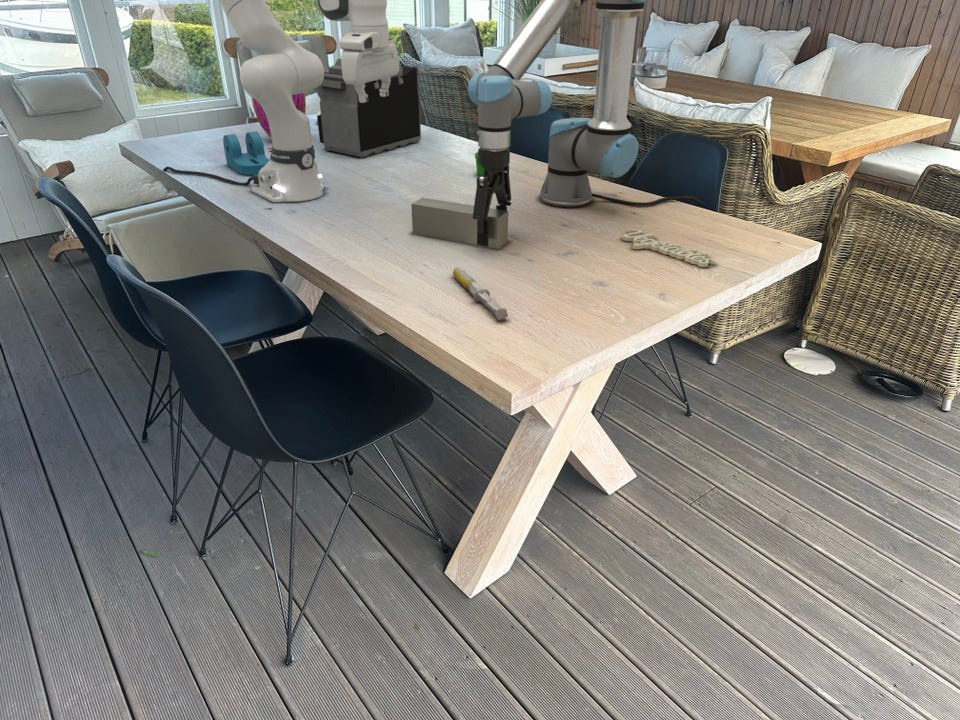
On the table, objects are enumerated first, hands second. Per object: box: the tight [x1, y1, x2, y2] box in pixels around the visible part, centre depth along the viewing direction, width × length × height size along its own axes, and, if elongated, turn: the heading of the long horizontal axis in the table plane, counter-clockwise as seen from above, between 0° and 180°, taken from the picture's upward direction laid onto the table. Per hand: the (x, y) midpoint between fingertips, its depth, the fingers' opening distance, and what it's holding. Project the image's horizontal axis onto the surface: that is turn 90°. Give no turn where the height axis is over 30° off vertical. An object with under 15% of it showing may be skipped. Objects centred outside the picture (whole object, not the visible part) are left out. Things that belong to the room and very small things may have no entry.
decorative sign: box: [622, 228, 715, 268], centre depth 169 cm, size 26×1×10 cm
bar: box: [410, 197, 510, 250], centre depth 173 cm, size 24×6×8 cm, turn 65°
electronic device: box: [314, 58, 422, 159], centre depth 250 cm, size 37×22×30 cm, turn 144°
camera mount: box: [222, 131, 271, 176], centre depth 226 cm, size 18×10×10 cm, turn 35°
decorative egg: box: [251, 93, 307, 138], centre depth 257 cm, size 19×19×30 cm
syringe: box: [452, 266, 509, 321], centre depth 145 cm, size 25×4×3 cm, turn 21°
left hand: (374, 99), depth 172 cm, fingers open, 8 cm apart
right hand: (492, 237), depth 171 cm, fingers open, 10 cm apart
